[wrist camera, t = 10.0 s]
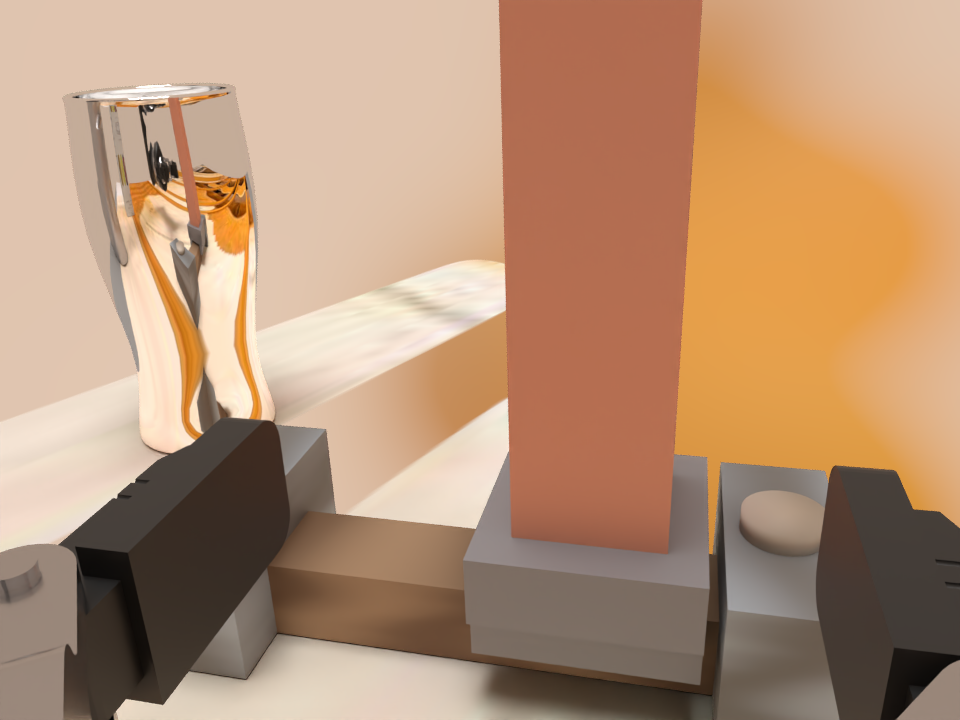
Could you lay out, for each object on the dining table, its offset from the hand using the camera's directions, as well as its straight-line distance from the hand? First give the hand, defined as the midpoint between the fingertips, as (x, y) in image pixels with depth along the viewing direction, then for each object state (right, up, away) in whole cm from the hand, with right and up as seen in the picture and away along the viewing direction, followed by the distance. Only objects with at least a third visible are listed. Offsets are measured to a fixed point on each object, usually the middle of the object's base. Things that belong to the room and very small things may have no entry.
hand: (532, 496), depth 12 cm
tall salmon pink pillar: (+3, -5, +12) cm, 14 cm away
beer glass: (-13, -1, +27) cm, 31 cm away
